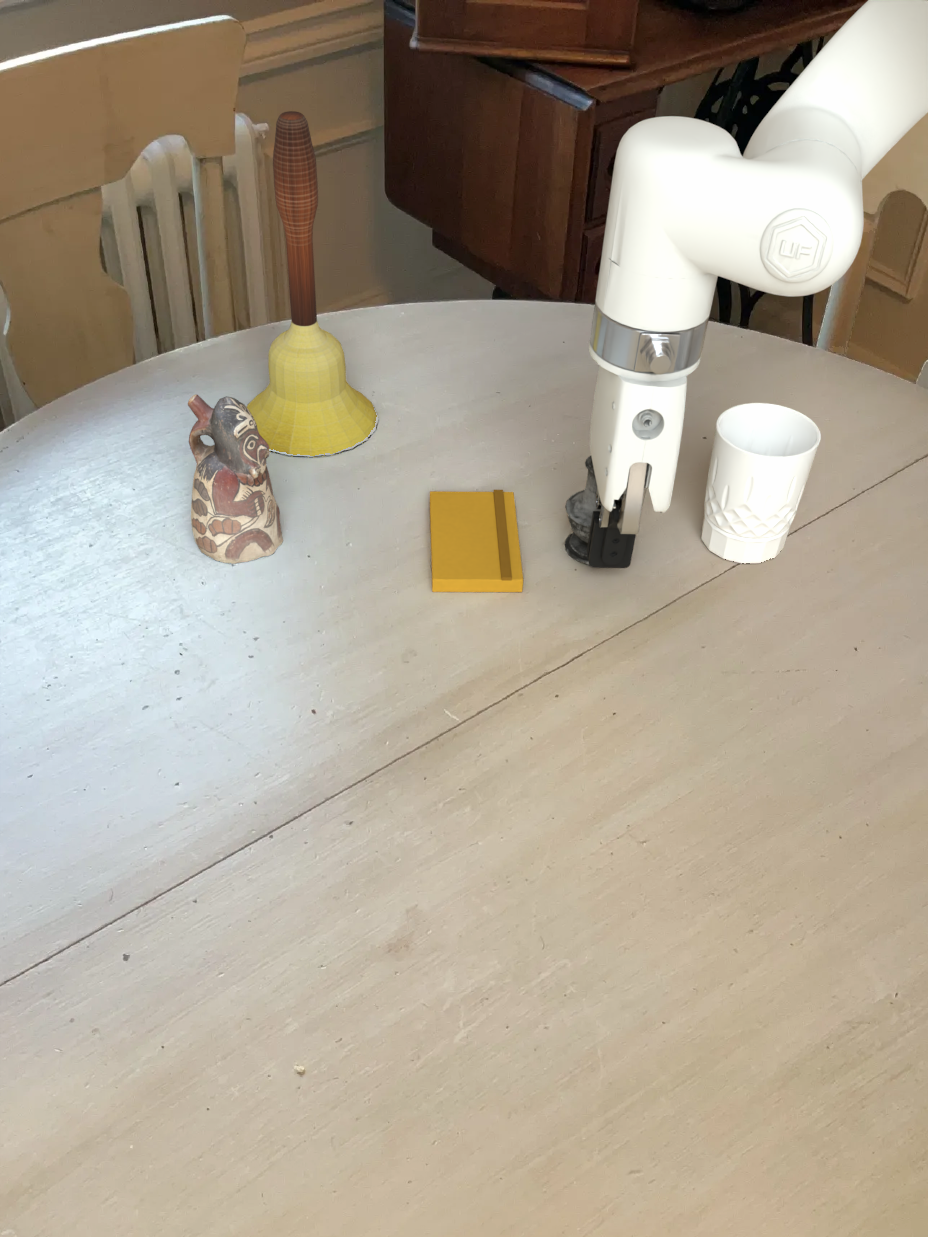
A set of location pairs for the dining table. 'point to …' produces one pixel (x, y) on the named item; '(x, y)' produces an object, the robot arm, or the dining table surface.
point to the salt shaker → (581, 516)
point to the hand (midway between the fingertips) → (607, 561)
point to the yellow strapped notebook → (474, 542)
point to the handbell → (305, 325)
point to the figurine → (231, 485)
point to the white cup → (756, 479)
